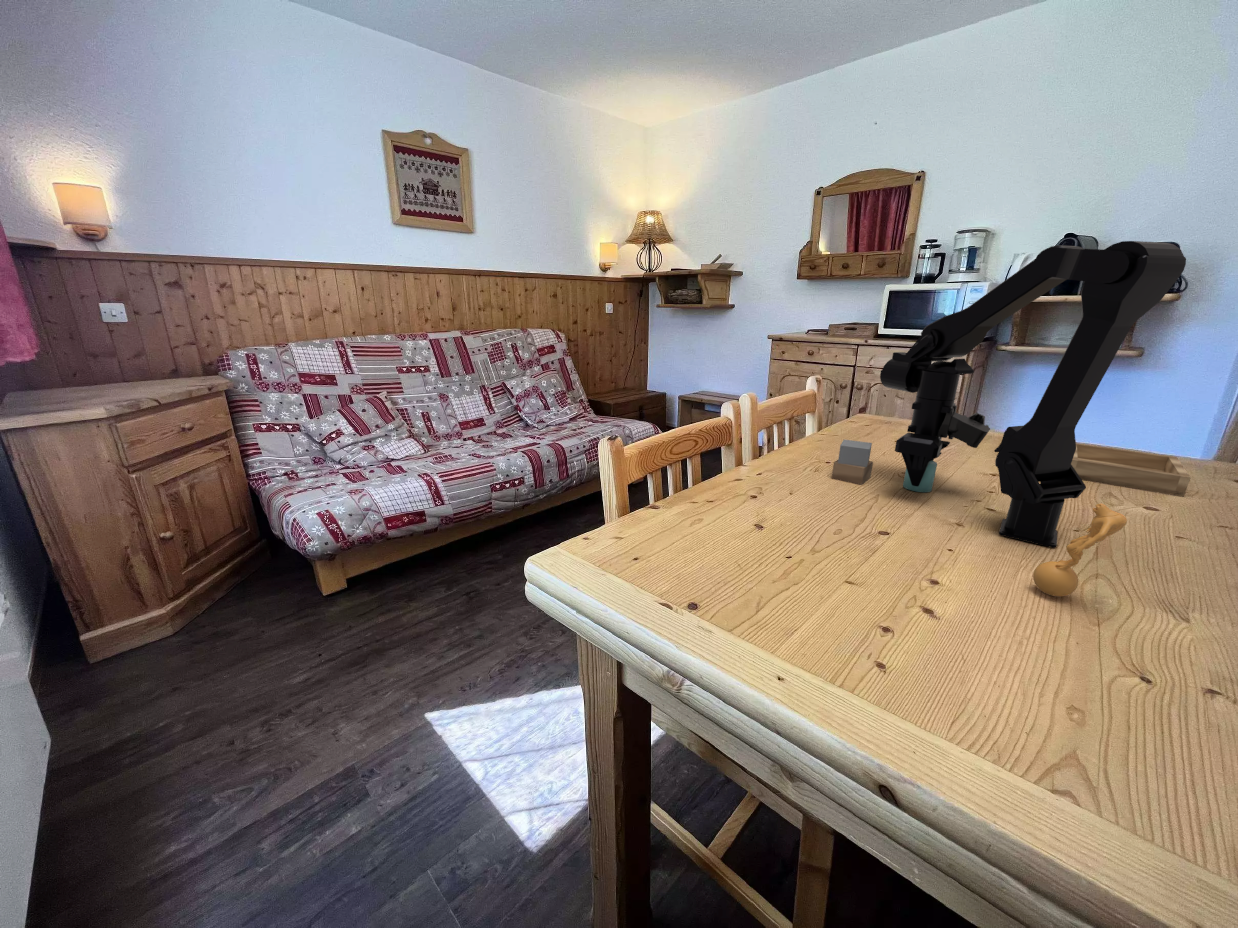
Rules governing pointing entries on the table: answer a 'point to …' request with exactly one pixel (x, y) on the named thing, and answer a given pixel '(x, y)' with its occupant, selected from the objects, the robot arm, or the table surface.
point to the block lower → (852, 473)
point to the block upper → (854, 453)
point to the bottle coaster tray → (1131, 469)
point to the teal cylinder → (926, 480)
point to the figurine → (1077, 554)
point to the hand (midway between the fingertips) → (918, 482)
